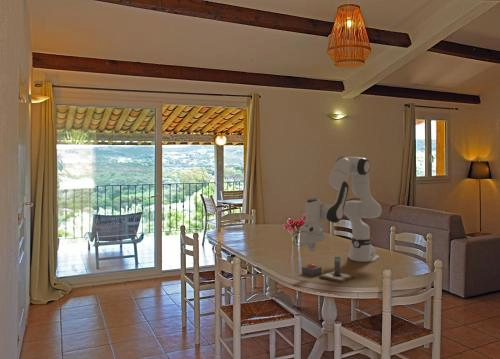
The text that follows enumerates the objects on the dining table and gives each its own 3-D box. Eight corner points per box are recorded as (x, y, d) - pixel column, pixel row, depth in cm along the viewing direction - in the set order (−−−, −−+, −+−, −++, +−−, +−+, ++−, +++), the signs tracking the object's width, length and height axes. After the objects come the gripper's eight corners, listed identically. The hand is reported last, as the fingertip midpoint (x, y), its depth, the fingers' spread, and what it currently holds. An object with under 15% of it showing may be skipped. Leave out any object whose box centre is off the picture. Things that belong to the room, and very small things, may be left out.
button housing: (310, 271, 254) (310, 264, 254) (321, 273, 249) (321, 266, 249) (302, 273, 248) (302, 266, 248) (313, 276, 243) (313, 269, 243)
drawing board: (332, 272, 250) (332, 270, 250) (354, 277, 241) (354, 275, 241) (319, 277, 240) (319, 275, 240) (341, 283, 231) (341, 280, 231)
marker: (336, 273, 243) (336, 256, 242) (341, 275, 241) (341, 257, 240) (332, 275, 240) (333, 257, 240) (338, 276, 238) (338, 258, 238)
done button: (310, 268, 251) (311, 263, 251) (316, 269, 249) (316, 264, 248) (306, 269, 248) (307, 264, 248) (312, 270, 246) (312, 265, 245)
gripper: (317, 224, 257) (317, 247, 257) (297, 228, 242) (297, 252, 242) (326, 225, 252) (326, 248, 253) (306, 229, 237) (306, 254, 238)
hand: (311, 250), depth 247 cm, fingers closed
